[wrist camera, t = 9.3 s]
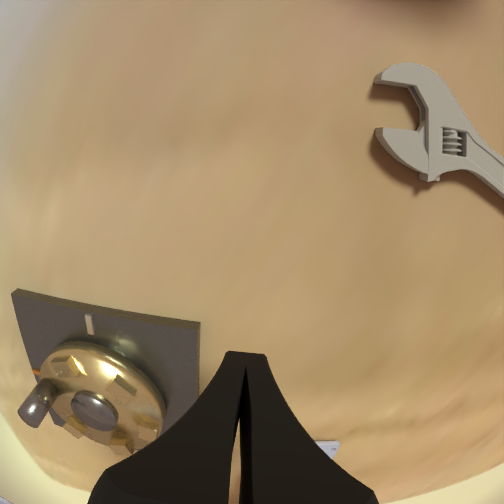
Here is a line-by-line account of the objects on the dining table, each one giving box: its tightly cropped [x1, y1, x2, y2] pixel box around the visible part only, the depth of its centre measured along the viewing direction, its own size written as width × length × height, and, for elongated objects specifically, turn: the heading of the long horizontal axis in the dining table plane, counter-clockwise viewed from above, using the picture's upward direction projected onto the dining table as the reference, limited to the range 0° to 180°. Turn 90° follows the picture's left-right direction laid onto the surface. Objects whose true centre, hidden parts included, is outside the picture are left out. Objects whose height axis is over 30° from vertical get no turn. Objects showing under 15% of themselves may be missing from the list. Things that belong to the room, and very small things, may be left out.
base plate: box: [11, 289, 200, 450], centre depth 23 cm, size 16×16×1 cm
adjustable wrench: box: [374, 62, 504, 199], centre depth 17 cm, size 25×6×2 cm, turn 65°
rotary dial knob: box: [18, 341, 166, 455], centre depth 19 cm, size 11×11×6 cm
